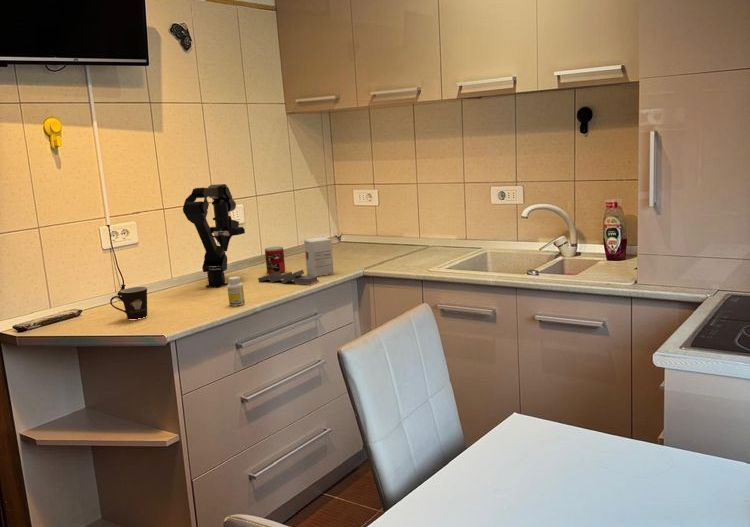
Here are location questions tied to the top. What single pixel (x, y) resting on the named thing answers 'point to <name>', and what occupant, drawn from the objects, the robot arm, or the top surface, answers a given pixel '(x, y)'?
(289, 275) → the domino
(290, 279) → the domino
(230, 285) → the supplement bottle
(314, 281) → the domino
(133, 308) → the coffee mug
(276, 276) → the domino
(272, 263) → the canned food
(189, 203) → the robot arm
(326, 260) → the supplement box
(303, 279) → the domino
